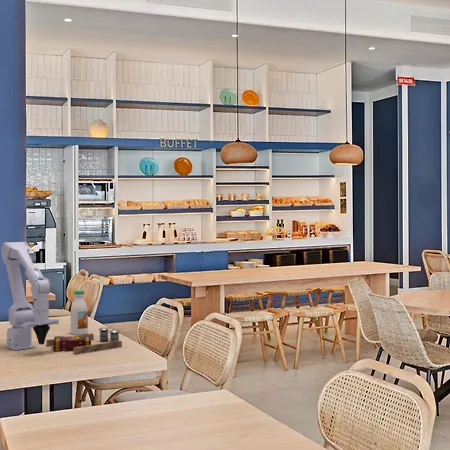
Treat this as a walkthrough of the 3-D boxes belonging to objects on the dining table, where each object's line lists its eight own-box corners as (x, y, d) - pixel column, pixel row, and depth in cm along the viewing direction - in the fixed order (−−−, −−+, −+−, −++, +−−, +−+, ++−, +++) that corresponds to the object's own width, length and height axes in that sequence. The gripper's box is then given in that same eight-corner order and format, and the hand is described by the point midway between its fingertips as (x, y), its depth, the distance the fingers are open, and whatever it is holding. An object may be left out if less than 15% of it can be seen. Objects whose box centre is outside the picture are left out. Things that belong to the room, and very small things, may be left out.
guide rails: (75, 354, 266) (75, 348, 266) (46, 345, 283) (46, 339, 283) (121, 347, 281) (121, 341, 281) (91, 339, 298) (91, 333, 298)
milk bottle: (71, 335, 306) (71, 291, 306) (70, 332, 314) (70, 289, 313) (88, 334, 308) (88, 291, 308) (87, 331, 316) (87, 289, 316)
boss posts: (113, 345, 284) (113, 332, 284) (96, 341, 293) (96, 328, 293) (122, 344, 287) (122, 330, 287) (105, 339, 297) (105, 327, 297)
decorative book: (91, 351, 274) (91, 338, 274) (50, 352, 271) (50, 340, 271) (90, 345, 285) (90, 333, 285) (51, 347, 282) (51, 335, 282)
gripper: (29, 312, 260) (29, 347, 261) (62, 309, 270) (62, 343, 270) (20, 310, 265) (20, 345, 266) (53, 307, 275) (53, 340, 276)
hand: (41, 344), depth 268 cm, fingers closed
